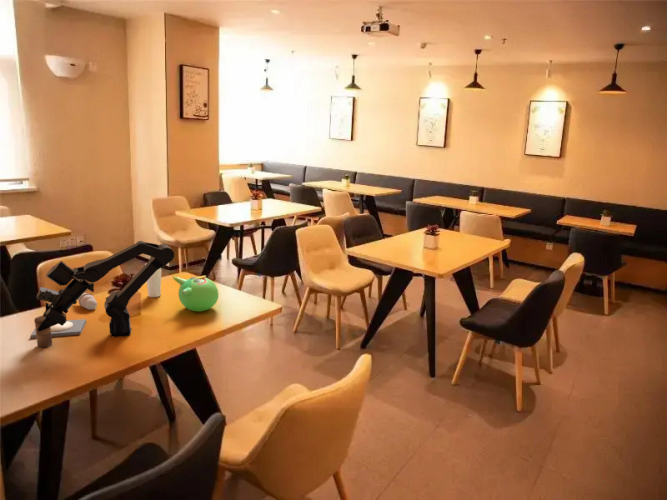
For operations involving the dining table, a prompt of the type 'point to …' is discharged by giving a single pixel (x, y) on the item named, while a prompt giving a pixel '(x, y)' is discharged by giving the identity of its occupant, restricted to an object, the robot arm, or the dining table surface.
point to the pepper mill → (43, 334)
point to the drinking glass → (154, 284)
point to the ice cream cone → (87, 301)
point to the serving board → (66, 328)
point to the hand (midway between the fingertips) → (38, 328)
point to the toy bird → (197, 293)
